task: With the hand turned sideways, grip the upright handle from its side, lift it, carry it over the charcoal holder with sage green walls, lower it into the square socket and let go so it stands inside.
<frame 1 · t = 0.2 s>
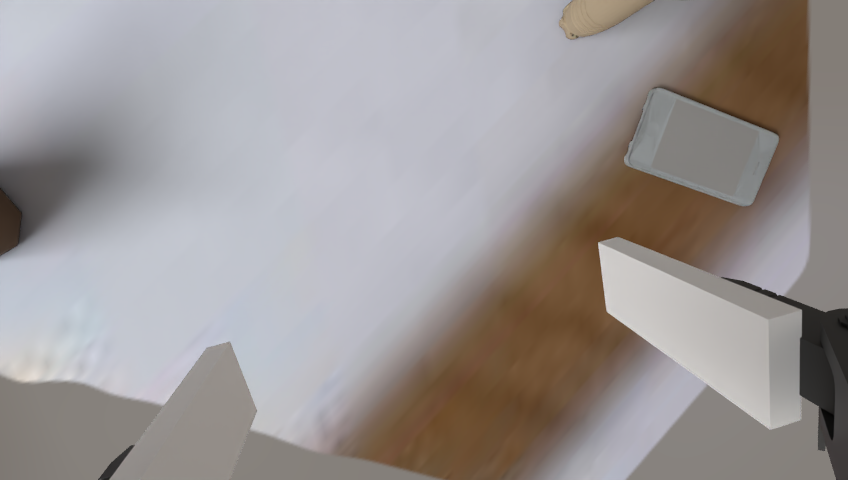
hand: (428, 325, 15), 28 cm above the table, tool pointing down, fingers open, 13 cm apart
handle: (572, 23, 41), on the table
phone: (695, 149, 46), on the table
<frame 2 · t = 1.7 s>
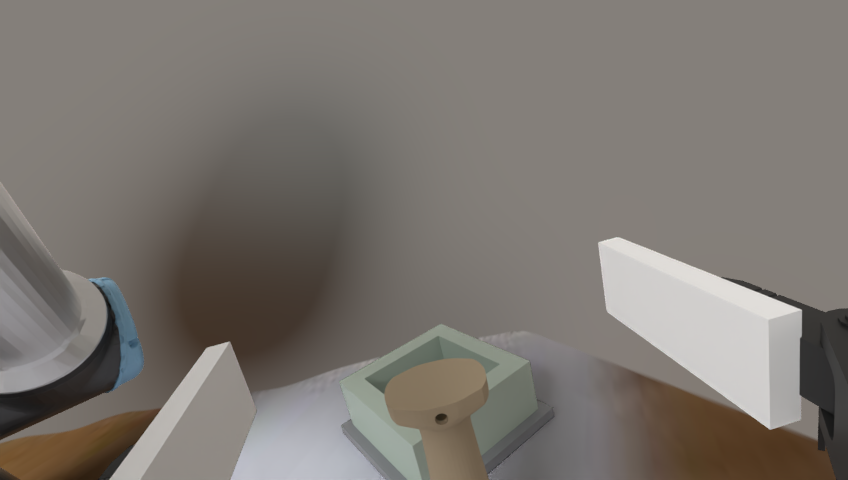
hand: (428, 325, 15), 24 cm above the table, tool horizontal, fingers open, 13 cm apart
holder: (443, 424, 45), on the table
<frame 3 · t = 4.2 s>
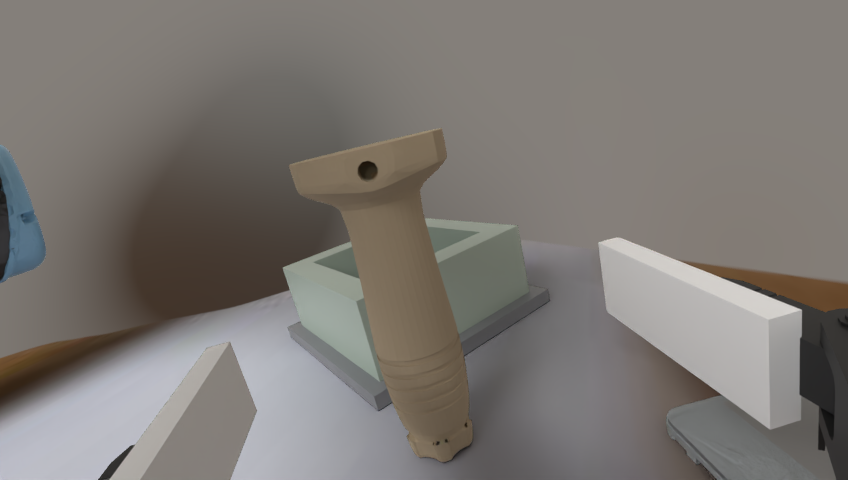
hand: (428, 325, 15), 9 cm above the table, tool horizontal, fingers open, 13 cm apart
handle: (444, 444, 22), on the table
holder: (411, 320, 36), on the table
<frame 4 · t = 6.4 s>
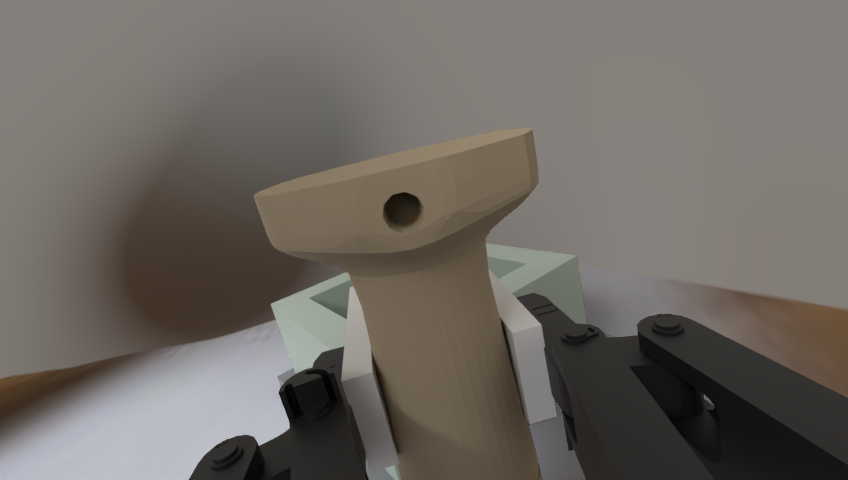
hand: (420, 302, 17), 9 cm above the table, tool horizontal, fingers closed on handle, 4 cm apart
holder: (434, 371, 28), on the table
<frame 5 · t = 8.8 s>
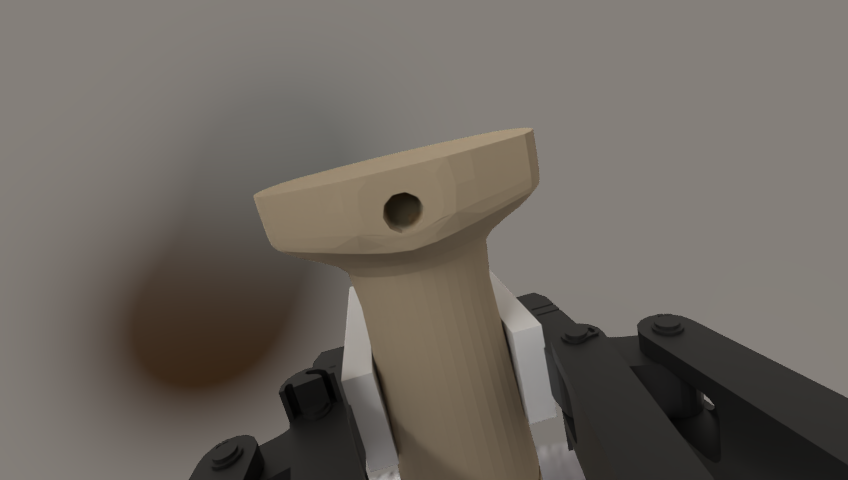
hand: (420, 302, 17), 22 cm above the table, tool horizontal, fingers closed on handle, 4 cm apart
when the fingers open (12 cm above the table, at t = 11.3 s): handle drops 2 cm, resting on holder.
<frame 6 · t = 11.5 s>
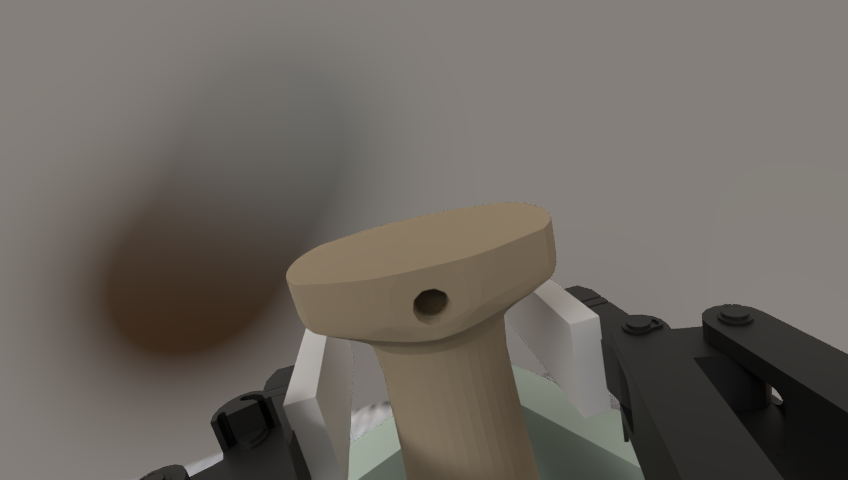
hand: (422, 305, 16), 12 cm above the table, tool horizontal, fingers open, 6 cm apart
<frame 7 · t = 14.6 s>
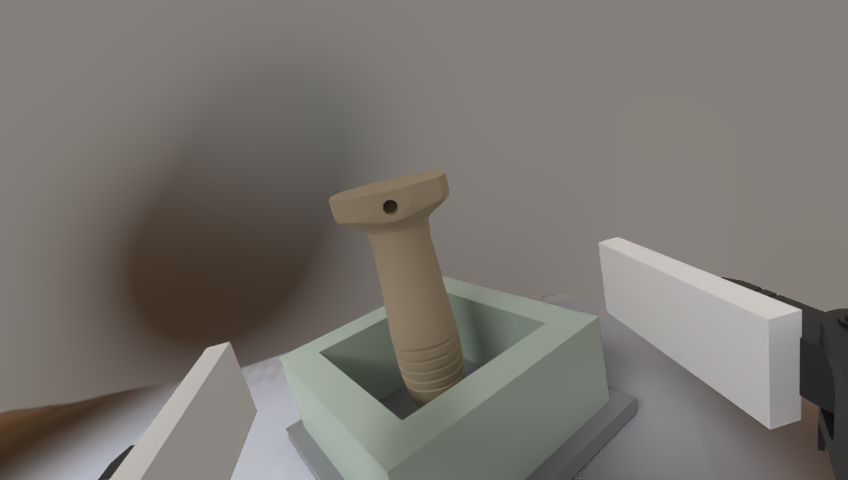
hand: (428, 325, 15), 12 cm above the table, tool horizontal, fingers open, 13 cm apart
handle: (445, 418, 27), point 1 cm above the table, touching holder
holder: (448, 427, 27), on the table
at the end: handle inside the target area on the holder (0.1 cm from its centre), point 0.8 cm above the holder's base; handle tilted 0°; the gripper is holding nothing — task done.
